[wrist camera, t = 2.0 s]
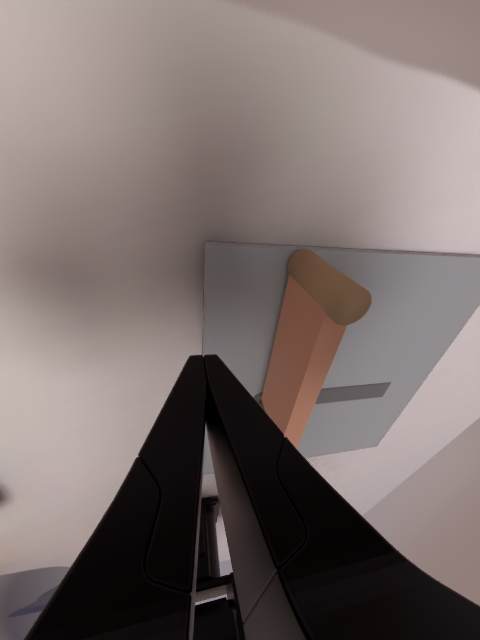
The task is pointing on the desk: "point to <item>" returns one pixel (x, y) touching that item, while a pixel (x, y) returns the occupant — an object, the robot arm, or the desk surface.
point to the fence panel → (308, 338)
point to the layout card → (358, 340)
